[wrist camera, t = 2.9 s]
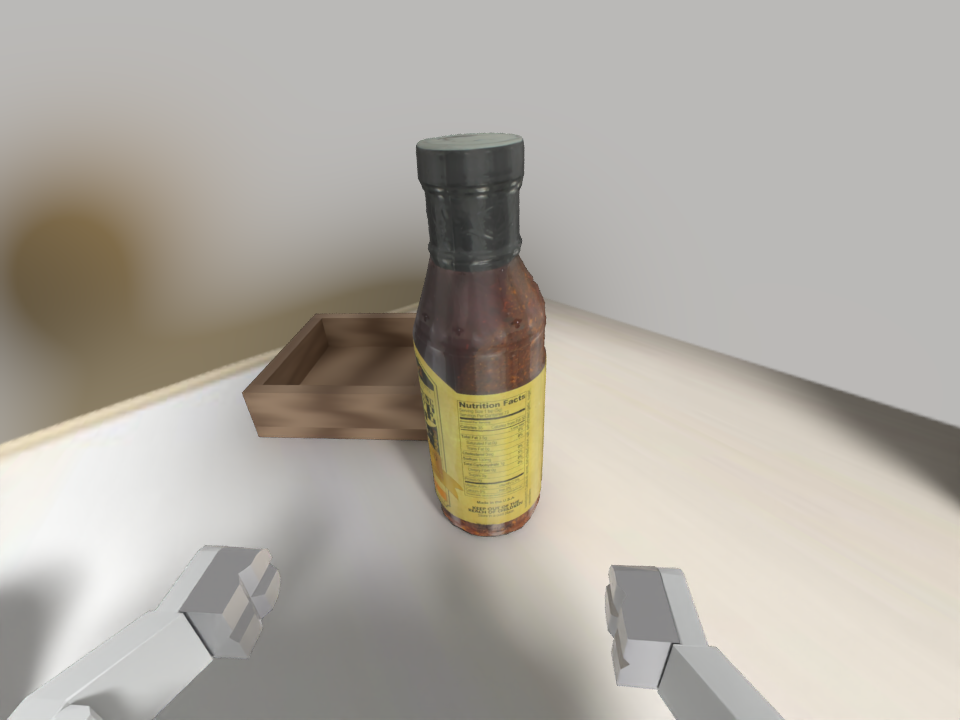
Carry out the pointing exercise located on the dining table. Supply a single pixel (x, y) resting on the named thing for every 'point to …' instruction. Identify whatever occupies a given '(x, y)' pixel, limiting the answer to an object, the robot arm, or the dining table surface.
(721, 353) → the dining table surface
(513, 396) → the sauce bottle
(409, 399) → the brown wooden tray
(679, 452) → the dining table surface
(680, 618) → the robot arm
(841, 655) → the dining table surface
